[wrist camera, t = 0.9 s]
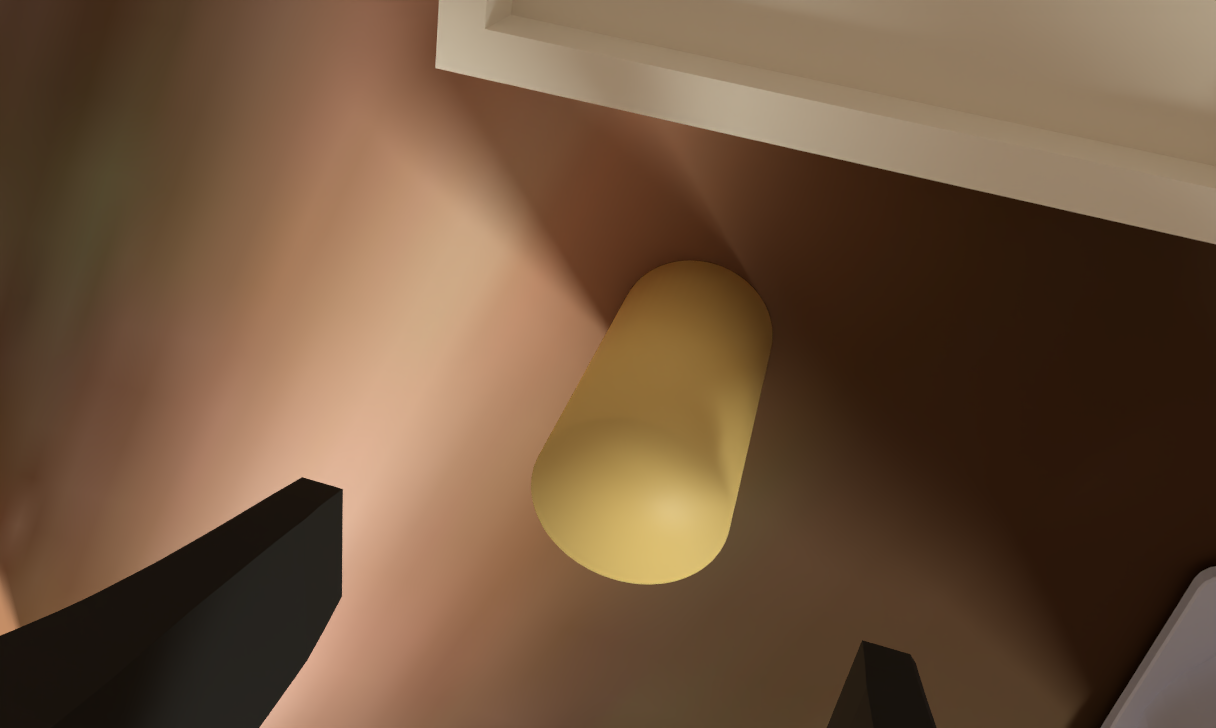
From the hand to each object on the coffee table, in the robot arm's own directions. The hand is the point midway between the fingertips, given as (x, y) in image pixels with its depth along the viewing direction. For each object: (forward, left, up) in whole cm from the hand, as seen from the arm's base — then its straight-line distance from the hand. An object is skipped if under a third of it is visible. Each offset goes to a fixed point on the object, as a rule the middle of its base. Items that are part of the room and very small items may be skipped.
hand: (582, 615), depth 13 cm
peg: (0, 0, -8) cm, 9 cm away
